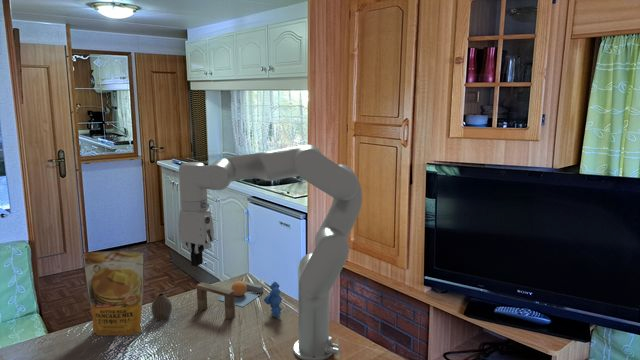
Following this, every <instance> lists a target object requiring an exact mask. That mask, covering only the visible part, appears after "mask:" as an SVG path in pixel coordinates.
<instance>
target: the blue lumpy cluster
mask: <svg viewBox="0 0 640 360" xmlns="http://www.w3.org/2000/svg"><path fill="white" fill-rule="evenodd" d="M279 287H280V284H279V283H278V282H277V281H273V282H272V283H271V285H270V286H269V288H270V289H271V290H270V292H269V294H267V295H265V297H264V298H263V302H264V303H265V304H266V305H269V306H270V308H271V309H270V311H271V315H272V316H273V317H274V318H279V317H280V315H281V314H282V307H280V304H281V303H282V300H283V298H282V296H281V295H280V293H281V290H280V288H279Z"/></svg>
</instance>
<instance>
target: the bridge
mask: <svg viewBox="0 0 640 360" xmlns="http://www.w3.org/2000/svg"><path fill="white" fill-rule="evenodd" d="M208 292H210V293H212V294H217V295H220V296H222V297H223V296H224V297H225V302H224V318H225V319H227V320H231V319H232V318H234V317H235V316H236V311H235V310H236V305H235V300H234V291H233V290H231V288H226V287H221V286H219V285H218V286H217V285H215V284H211V283H207V282H203V281H202V282H200V283H198V284H196V300H197V301H196V304H197V310H199V311H203V310H206V309H207V308H208Z"/></svg>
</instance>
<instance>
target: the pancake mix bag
mask: <svg viewBox="0 0 640 360" xmlns="http://www.w3.org/2000/svg"><path fill="white" fill-rule="evenodd" d="M145 260H146V259H145V253H143V252H141V251H139V250H124V251H117V250H110V251H108V250H106V251H105V250H104V251H89V252H86V253H83V254H82V261H83V262H82V263H83V270H84V274H85V282H86V287H87V293H88V297H89V305H90V310H91V315H92V331H91V332H92V334H96V335H97V336H98V337H120V336H121V337H129V336H130V337H131V336H135V335H137V334H140V333H143V330H142V327H141V323H142V312H143V310H142V309H143V297H144V286H145V262H146V261H145Z"/></svg>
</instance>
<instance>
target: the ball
mask: <svg viewBox="0 0 640 360" xmlns="http://www.w3.org/2000/svg"><path fill="white" fill-rule="evenodd" d="M242 281H243V280H242ZM242 281H241V280H237V281H234V282H233V283H232V285H231V288H230V290H233V291H234V295H235V296H238V297H239V296H243V295H244V294H245V293H246V291H248V290H247V286H246V284H245V283H244V282H242Z"/></svg>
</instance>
